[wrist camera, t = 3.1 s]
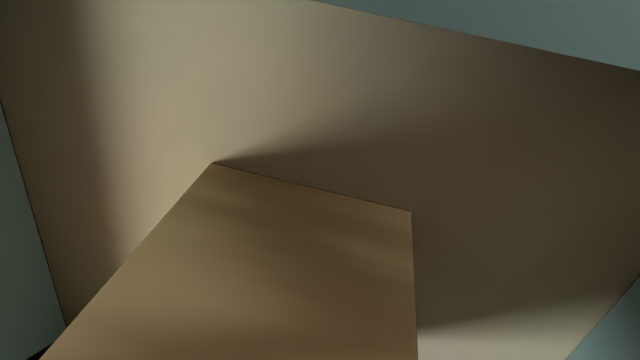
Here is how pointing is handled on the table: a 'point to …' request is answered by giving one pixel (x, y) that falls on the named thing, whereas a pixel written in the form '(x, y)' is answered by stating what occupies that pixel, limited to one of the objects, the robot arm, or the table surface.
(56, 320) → the crate
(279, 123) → the table surface
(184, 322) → the tan wooden block
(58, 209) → the table surface
